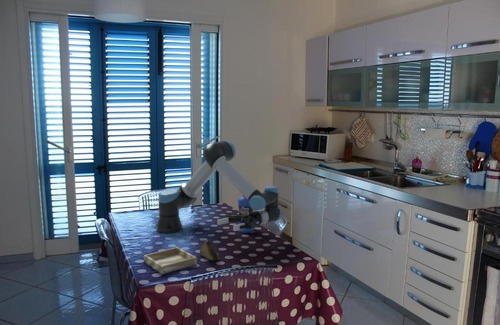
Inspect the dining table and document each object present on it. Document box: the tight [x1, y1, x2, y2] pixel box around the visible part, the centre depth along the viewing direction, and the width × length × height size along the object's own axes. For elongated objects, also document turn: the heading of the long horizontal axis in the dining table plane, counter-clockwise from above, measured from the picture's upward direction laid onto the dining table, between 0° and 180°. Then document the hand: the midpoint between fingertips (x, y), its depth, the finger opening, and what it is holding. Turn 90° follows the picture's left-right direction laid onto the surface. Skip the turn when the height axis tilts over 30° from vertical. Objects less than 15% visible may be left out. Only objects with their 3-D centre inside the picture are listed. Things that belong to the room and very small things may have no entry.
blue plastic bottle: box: [237, 195, 254, 234], centre depth 248 cm, size 9×9×25 cm
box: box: [143, 246, 198, 275], centre depth 199 cm, size 18×18×4 cm
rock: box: [199, 239, 220, 261], centre depth 207 cm, size 11×9×10 cm
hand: (225, 225), depth 211 cm, fingers open, 13 cm apart
